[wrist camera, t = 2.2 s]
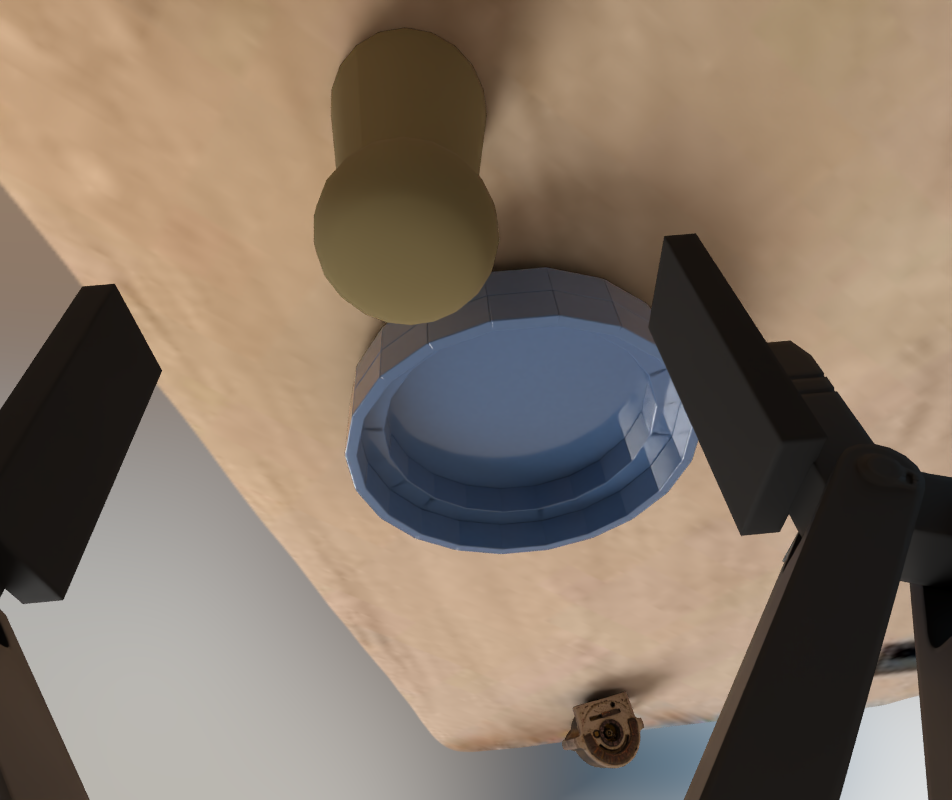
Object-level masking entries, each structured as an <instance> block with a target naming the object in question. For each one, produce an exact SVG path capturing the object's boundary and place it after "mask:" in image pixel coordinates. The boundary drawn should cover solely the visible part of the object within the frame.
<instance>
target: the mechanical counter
mask: <svg viewBox="0 0 952 800" xmlns="http://www.w3.org/2000/svg"><path fill="white" fill-rule="evenodd" d="M573 711H574V715H575V717H574V719H573V722H572V725H571V730H570V731H569V732H568V734H567V735H566V738H565V740H563V741H562V746H563V749H564V750H573V751H576V752H577V754H578V755H579V756H580V757H581V758H582V759H583V761H585V762H586V763H588V764H589V765H592V766H594V767H600V768H619V767H623V766H625V765H626V764H628V763H629V762H630V761H631V760H632V759H633V758H634V757H635V755H636V753H637V751H638V749H639V744H640V730H641V729H642V728H644V724H643V721H642V719H641V718H636V717H635V715H634V712H633V709H632V707H631V704H630V701H629V698H628V695H627V693H626V691H624V692H621V693H618V694H615V695H612V696H609V697H606V698H603V699H599V700H596V701H592V702H588V703H585V704H581V705H578V706H575V707H573Z"/></svg>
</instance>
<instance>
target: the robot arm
mask: <svg viewBox="0 0 952 800" xmlns="http://www.w3.org/2000/svg"><path fill="white" fill-rule="evenodd" d="M648 328H649V330H650V333H651V335H652V337H653V339H654V342H655V344H656V346H657V348H658V351H659V353H660V355H661V357H662V360H663V362H664V364H665V366H666V369H667V371H668V373H669V375H670V378H671V380H672V382H673V384H674V387H675V389H676V391H677V393H678V395H679V398H680V400H681V402H682V404H683V407H684V409H685V411H686V413H687V416H688V418H689V420H690V422H691V425H692V427H693V429H694V431H695V434H696V436H697V438H698V440H699V443H700V445H701V447H702V449H703V452H704V454H705V456H706V458H707V461H708V463H709V465H710V467H711V470H712V472H713V474H714V476H715V479H716V481H717V483H718V485H719V487H720V490H721V492H722V494H723V496H724V499H725V501H726V503H727V505H728V508H729V510H730V512H731V514H732V517H733V519H734V521H735V523H736V526H737V528H738V530H739V532H740V535H741V536H743V535H753V534H764V533H775V532H780V531H781V529H782V527H783V525H784V523H785V521H786V519H787V517H788V515H790V516H791V518H792V520H793V522H794V524H795V526H796V528H797V530H798V533H797V535H796V537H795V539H794V541H793V542H792V544H791V546H790V548H789V550H788V552H787V553H786V555H785V557H784V559H783V562H784V564H783V567H782V569H781V572H780V574H779V576H778V579H777V581H776V583H775V586H774V588H773V590H772V593H771V595H770V598H769V600H768V602H767V605H766V607H765V609H764V612H763V614H762V616H761V619H760V621H759V624H758V626H757V628H756V631H755V633H754V635H753V638H752V640H751V642H750V645H749V647H748V649H747V652H746V654H745V657H744V659H743V661H742V664H741V666H740V668H739V671H738V673H737V675H736V678H735V680H734V683H733V685H732V687H731V690H730V692H729V694H728V697H727V699H726V701H725V704H724V706H723V709H722V711H721V713H720V716H719V718H718V720H717V723H716V725H715V728H714V730H713V732H712V735H711V737H710V739H709V742H708V744H707V746H706V749H705V751H704V754H703V756H702V758H701V761H700V763H699V765H698V768H697V770H696V773H695V775H694V777H693V779H692V782H691V784H690V786H689V789H688V791H687V794H686V796H685V798H684V800H839V799H840V795H841V792H842V788H843V784H844V781H845V777H846V774H847V770H848V767H849V763H850V759H851V756H852V752H853V748H854V745H855V741H856V737H857V734H858V730H859V727H860V723H861V720H862V716H863V712H864V709H865V705H866V702H867V698H868V694H869V691H870V687H871V683H872V680H873V676H874V673H875V669H876V665H877V662H878V658H879V655H880V651H881V647H882V644H883V640H884V636H885V633H886V629H887V626H888V622H889V618H890V615H891V611H892V608H893V604H894V600H895V597H896V593H897V589H898V586H899V582H900V581H903V582H908V583H910V592H911V604H912V615H913V627H914V639H915V650H916V662H917V673H918V685H919V697H920V708H921V720H922V731H923V742H924V755H925V766H926V778H927V789H928V800H952V477H946V476H940V475H934V474H928V473H924V472H920V470H919V468H918V467H917V466H916V465H915V464H914V463H913V462H912V461H911V460H909V459H908V458H907V457H906V456H905V455H903V454H901V453H899V452H897V451H895V450H893V449H891V448H888V447H884V446H880V445H876V444H874V443H873V441H872V440H871V438H870V437H869V436H868V434H867V433H866V431H865V430H864V429H863V427H862V426H861V424H860V423H859V422H858V420H857V419H856V417H855V416H854V415H853V413H852V412H851V410H850V409H849V408H848V406H847V405H846V403H845V402H844V401H843V399H842V398H841V396H840V395H839V394H838V392H837V391H836V392H835V391H834V387H833V385H832V384H831V382H830V381H829V380H828V378H827V377H824V373H823V371H822V370H821V368H820V367H819V366H818V364H817V363H816V361H815V360H814V359H813V357H812V356H811V355H810V354H809V353H807V352H806V351H804V350H803V349H801V348H800V347H799V346H797V345H796V344H794V343H793V342H792V341H780V342H769V343H767V342H766V341H765V339H764V338H763V336H762V335H761V333H760V331H759V330H758V328H757V327H756V325H755V324H754V322H753V321H752V319H751V318H750V316H749V315H748V313H747V311H746V310H745V308H744V307H743V305H742V304H741V302H740V301H739V299H738V298H737V296H736V295H735V293H734V291H733V290H732V288H731V287H730V285H729V284H728V282H727V281H726V279H725V278H724V276H723V275H722V273H721V271H720V270H719V268H718V267H717V265H716V264H715V262H714V261H713V259H712V258H711V256H710V255H709V253H708V251H707V250H706V248H705V247H704V245H703V244H702V242H701V241H700V239H699V238H698V236H697V234H696V233H695V234H684V235H672V236H664V241H663V246H662V252H661V258H660V263H659V269H658V274H657V280H656V286H655V291H654V297H653V303H652V308H651V314H650V320H649V325H648ZM161 372H162V370H161V368H160V366H159V364H158V362H157V360H156V359H155V357H154V355H153V353H152V351H151V349H150V348H149V346H148V344H147V342H146V340H145V338H144V336H143V335H142V333H141V331H140V329H139V327H138V325H137V324H136V322H135V320H134V318H133V316H132V314H131V313H130V311H129V309H128V307H127V305H126V303H125V302H124V300H123V298H122V296H121V294H120V292H119V290H118V289H117V287H116V285H115V284H107V285H95V286H84V287H82V288H81V290H80V291H79V292H78V294H77V295H76V297H75V298H74V300H73V301H72V303H71V304H70V306H69V307H68V309H67V310H66V312H65V313H64V315H63V316H62V318H61V320H60V321H59V322H58V324H57V325H56V327H55V329H54V330H53V331H52V333H51V334H50V336H49V337H48V339H47V340H46V342H45V343H44V345H43V346H42V348H41V349H40V351H39V353H38V354H37V355H36V357H35V358H34V360H33V361H32V363H31V364H30V366H29V368H28V369H27V370H26V372H25V374H24V375H23V376H22V378H21V380H20V381H19V382H18V384H17V386H16V387H15V388H14V390H13V391H12V393H11V394H10V396H9V397H8V399H7V400H6V402H5V404H4V405H3V406H2V408H1V409H0V597H1V595H2V593H3V591H4V589H6V590H7V591H9V592H10V593H11V594H12V595H13V596H14V597H16V598H17V599H18V600H19V601H20V602H21V603H22V604H27V603H38V602H49V601H59V600H63V599H64V597H65V595H66V593H67V590H68V588H69V586H70V583H71V581H72V578H73V576H74V574H75V572H76V569H77V567H78V565H79V562H80V560H81V558H82V555H83V553H84V551H85V548H86V546H87V544H88V541H89V539H90V536H91V534H92V532H93V530H94V527H95V525H96V523H97V521H98V518H99V516H100V513H101V511H102V509H103V507H104V504H105V502H106V500H107V497H108V495H109V493H110V490H111V488H112V486H113V483H114V481H115V479H116V476H117V474H118V472H119V470H120V467H121V465H122V463H123V460H124V458H125V456H126V453H127V451H128V449H129V446H130V444H131V441H132V439H133V437H134V435H135V432H136V430H137V427H138V425H139V423H140V421H141V418H142V416H143V414H144V411H145V409H146V407H147V405H148V402H149V400H150V397H151V395H152V393H153V390H154V388H155V386H156V384H157V381H158V379H159V377H160V374H161ZM0 800H89V798H88V795H87V793H86V791H85V789H84V786H83V784H82V782H81V780H80V778H79V775H78V773H77V771H76V769H75V766H74V764H73V762H72V760H71V758H70V755H69V753H68V751H67V749H66V747H65V744H64V742H63V740H62V738H61V736H60V733H59V731H58V729H57V727H56V725H55V722H54V720H53V718H52V716H51V714H50V711H49V709H48V707H47V705H46V703H45V700H44V698H43V696H42V694H41V691H40V689H39V687H38V685H37V683H36V680H35V678H34V676H33V674H32V672H31V669H30V667H29V665H28V663H27V660H26V658H25V656H24V654H23V652H22V650H21V647H20V645H19V643H18V641H17V639H16V636H15V634H14V632H13V630H12V628H11V625H10V623H9V621H8V619H7V616H6V615H5V614H4V613H3V612H2V611H1V610H0Z"/></svg>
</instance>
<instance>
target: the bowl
mask: <svg viewBox="0 0 952 800" xmlns="http://www.w3.org/2000/svg"><path fill="white" fill-rule="evenodd" d="M650 314H651V308H650V306H649V305H648V304H647V303H645V302H643V301H642V300H640V299H638V298H636V297H635V296H633V295H631V294H629V293H628V292H626V291H624V290H622V289H621V288H619V287H617V286H615V285H614V284H612V283H610V282H608V281H607V280H605V279H603V278H598V277H593V276H588V275H583V274H578V273H573V272H568V271H563V270H558V269H553V268H548V267H547V268H546V267H543V268H531V269H519V270H507V271H495V272H491V274H490V276H489V277H488V279H487V280H486V282H485V284H484V285H483V287H482V288H481V290H480V292H479V293H478V294H477V295H476V296H475V297H473V298H472V299H471V300H470V301H469V302H468V303H466V304H465V305H464V306H463V307H462V308H460V309H459V310H458V311H456V312H455V313H453V314H450V315H448V316H446V317H443V318H441V319H439V320H437V321H434V322H428V323H421V324H415V325H406V324H396V323H387V324H386V325H384V326H383V327H382V329H381V330H380V332H379V333H378V335H377V336H376V338H375V339H374V341H373V342H372V344H371V345H370V347H369V348H368V350H367V351H366V353H365V354H364V356H363V357H362V359H361V360H360V362H359V363H358V365H357V367H356V373H355V379H354V384H353V390H352V396H351V401H350V409H349V418H348V428H347V437H346V447H345V457H346V461H347V464H348V467H349V470H350V474H351V477H352V480H353V483H354V487H355V489H356V491H357V492H358V493H359V494H360V496H361V497H362V498H363V499H364V500H365V501H366V502H367V504H368V505H369V506H370V507H371V508H372V509H373V510H374V511H375V513H376V514H377V515H378V516H379V517H380V518H381V519H383V520H384V521H386V522H388V523H390V524H391V525H393V526H395V527H396V528H398V529H400V530H402V531H403V532H405V533H407V534H409V535H410V536H412V537H414V538H416V539H419V540H422V541H426V542H429V543H433V544H436V545H440V546H443V547H447V548H450V549H454V550H458V551H470V552H482V553H494V554H501V553H502V554H508V553H519V552H531V551H542V550H549V549H553V548H557V547H560V546H564V545H568V544H572V543H576V542H579V541H583V540H587V539H591V538H594V537H596V536H598V535H600V534H602V533H604V532H606V531H609V530H611V529H613V528H615V527H617V526H619V525H621V524H623V523H626V522H628V521H630V520H632V519H633V518H635V517H636V516H638V515H639V514H640V513H641V512H643V511H644V510H645V509H647V508H648V507H649V506H651V505H652V504H653V503H655V502H656V501H657V500H659V499H660V498H661V497H663V496H664V495H665V494H667V492H669V490H670V489H671V488H672V486H673V485H674V484H675V482H676V481H677V480H678V478H679V477H680V476H681V475H682V473H683V472H684V471H685V469H686V468H687V467H688V465H689V464H690V463H691V461H692V460H693V456H694V453H695V449H696V446H697V443H698V438H697V436H696V434H695V431H694V429H693V427H692V425H691V422H690V420H689V418H688V416H687V413H686V411H685V409H684V407H683V404H682V402H681V400H680V398H679V395H678V393H677V391H676V389H675V387H674V384H673V382H672V380H671V378H670V375H669V373H668V371H667V369H666V366H665V364H664V362H663V360H662V357H661V355H660V353H659V351H658V348H657V346H656V344H655V342H654V339H653V337H652V335H651V333H650V330H649V328H648V325H649V320H650Z"/></svg>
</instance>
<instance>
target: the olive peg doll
mask: <svg viewBox="0 0 952 800" xmlns="http://www.w3.org/2000/svg"><path fill="white" fill-rule="evenodd" d="M331 120H332V130H333V141H334V151H335V162H336V170H335V171H334V172H333V173H332V175H331V176H330V177H329V178H328V179H327V180H326V183H325V185H324V188H323V190H322V193H321V196H320V198H319V201H318V203H317V206H316V210H315V214H314V245H315V249H316V252H317V255H318V258H319V261H320V264H321V266H322V269H323V272H324V275H325V277H326V278H327V279H328V281H329V282H330V283H331V285H332V286H333V287H334V288H335V290H336V291H337V292H338V293H339V295H340V296H341V297H342V298H344V299H345V300H346V301H347V302H349V303H350V304H352V305H353V306H354V307H356V308H357V309H359V310H360V311H361V312H363V313H364V314H366V315H368V316H371V317H374V318H376V319H379V320H382V321H385V322H387V323H396V324H406V325H415V324H421V323H428V322H434V321H437V320H439V319H441V318H443V317H446V316H448V315H450V314H453V313H455V312H456V311H458V310H459V309H460V308H462V307H463V306H464V305H465V304H466V303H468V302H469V301H470V300H471V299H472V298H473V297H475V296H476V295H477V294H478V293H479V292H480V290H481V288H482V287H483V285H484V284H485V282H486V280H487V279H488V277H489V276H490V274H491V272H492V268H493V265H494V260H495V256H496V252H497V247H498V243H499V232H498V224H497V216H496V210H495V206H494V203H493V201H492V198H491V196H490V194H489V192H488V190H487V188H486V186H485V184H484V182H483V180H482V179H481V178H480V176H479V171H480V163H481V155H482V147H483V139H484V131H485V123H486V108H485V99H484V90H483V88H482V86H481V83H480V81H479V79H478V77H477V75H476V72H475V70H474V68H473V66H472V65H471V64H470V62H469V61H468V60H467V59H466V58H465V57H464V56H463V55H462V53H461V52H460V51H459V50H458V49H457V48H456V47H455V46H454V45H452V44H450V43H449V42H447V41H445V40H443V39H442V38H440V37H438V36H436V35H435V34H433V33H431V32H425V31H420V30H415V29H409V28H401V29H395V30H389V31H383V32H379V33H377V34H375V35H374V36H372V37H370V38H368V39H367V40H365V41H363V42H362V43H360V44H358V45H357V46H356V47H355V48H354V49H353V51H352V52H351V53H350V54H349V55H348V57H347V58H346V59H345V60H344V62H343V63H342V64H341V65H340V68H339V71H338V73H337V76H336V79H335V82H334V85H333V87H332V96H331Z"/></svg>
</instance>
